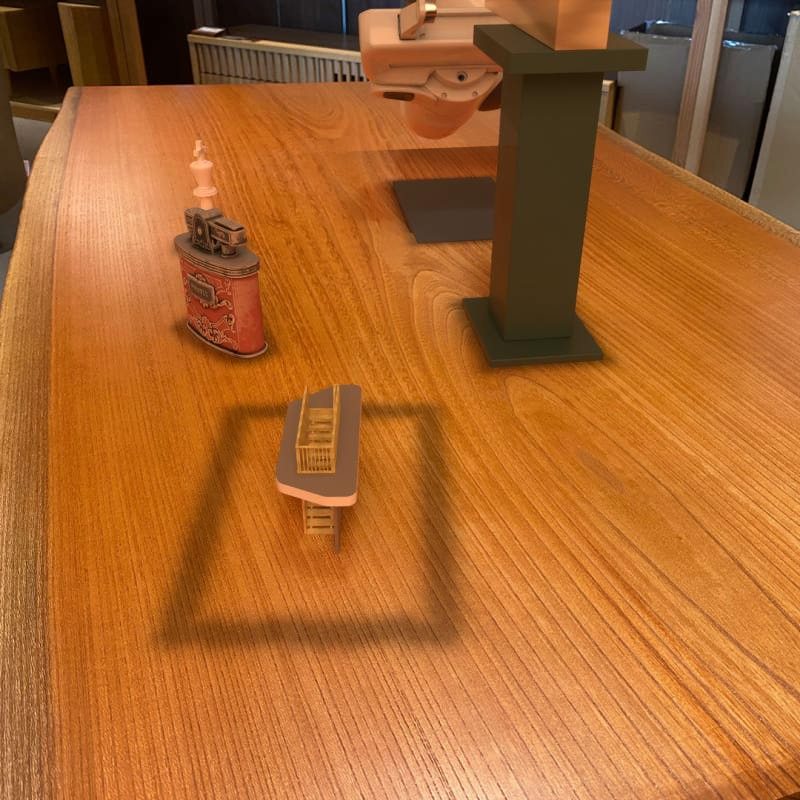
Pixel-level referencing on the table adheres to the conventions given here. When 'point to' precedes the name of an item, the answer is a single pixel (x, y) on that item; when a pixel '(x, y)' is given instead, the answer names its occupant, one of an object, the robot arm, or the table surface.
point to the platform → (322, 455)
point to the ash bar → (559, 21)
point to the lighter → (221, 284)
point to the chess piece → (203, 176)
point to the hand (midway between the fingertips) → (483, 2)
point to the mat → (448, 208)
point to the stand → (542, 195)
